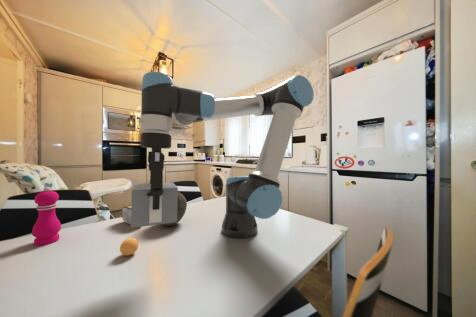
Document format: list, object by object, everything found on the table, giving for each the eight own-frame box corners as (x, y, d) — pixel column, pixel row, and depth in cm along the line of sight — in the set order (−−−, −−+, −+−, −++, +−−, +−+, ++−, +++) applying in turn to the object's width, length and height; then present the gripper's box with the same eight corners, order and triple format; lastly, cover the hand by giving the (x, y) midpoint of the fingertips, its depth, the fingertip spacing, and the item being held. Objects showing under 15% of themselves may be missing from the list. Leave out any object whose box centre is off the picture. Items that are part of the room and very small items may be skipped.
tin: (144, 227, 78) (144, 208, 78) (137, 229, 75) (137, 209, 75) (127, 220, 86) (127, 203, 86) (120, 222, 83) (120, 204, 83)
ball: (138, 248, 59) (138, 234, 59) (137, 256, 55) (137, 240, 55) (121, 252, 57) (121, 236, 57) (118, 260, 53) (118, 243, 53)
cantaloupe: (186, 228, 76) (186, 194, 76) (150, 232, 72) (151, 196, 72) (186, 217, 90) (186, 188, 90) (156, 220, 86) (156, 189, 86)
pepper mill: (46, 237, 67) (46, 185, 67) (66, 236, 68) (66, 185, 68) (25, 247, 60) (24, 188, 60) (48, 246, 61) (47, 188, 60)
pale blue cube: (172, 210, 54) (172, 182, 54) (177, 221, 45) (177, 187, 45) (134, 215, 50) (134, 183, 50) (130, 228, 41) (131, 190, 41)
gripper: (142, 136, 56) (140, 205, 56) (138, 125, 36) (136, 234, 36) (167, 138, 59) (165, 203, 59) (177, 129, 39) (174, 228, 39)
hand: (154, 215), depth 48 cm, fingers closed on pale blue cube, 10 cm apart
